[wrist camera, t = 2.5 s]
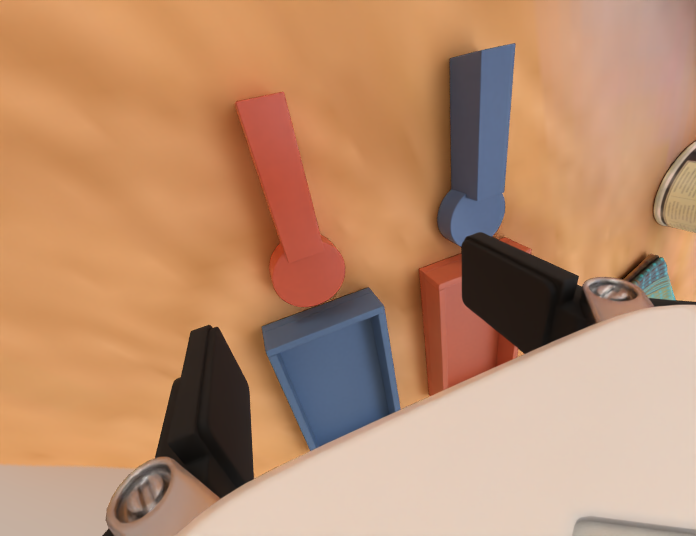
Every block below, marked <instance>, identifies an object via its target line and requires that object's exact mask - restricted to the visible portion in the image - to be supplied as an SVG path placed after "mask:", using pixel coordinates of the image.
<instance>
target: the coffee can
mask: <svg viewBox="0 0 696 536" xmlns="http://www.w3.org/2000/svg"><path fill="white" fill-rule="evenodd" d="M654 217H655V220H656V221H657V223H659V224H660V225H663V226H670V227H674V228H678V229H682V230H686V231H690V232H694V233H696V141H695V142H693V143H692V144H691V145H690V146H689V147H687V148H686V149H685V150H684V151H683V152H682V153H681V155H680V156H679V157H678V158H677V159H676V161H675V162H674V163H673V164H672V166H671V167H670V169H669V170H668V172H667V173H666V175H665V177H664V179H663V181H662V183H661V185H660V187H659V190H658V192H657V195H656V198H655V204H654Z"/></svg>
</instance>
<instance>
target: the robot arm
mask: <svg viewBox="0 0 696 536" xmlns="http://www.w3.org/2000/svg"><path fill="white" fill-rule="evenodd" d="M461 250H462V300H463V303H464V304H465V306H466V307H468V308H469V309H470V310H471V311H473V312H474V313H475V314H476V315H477V316H479V317H480V318H481V319H482V320H484V321H485V322H486V323H487V324H489V325H490V326H491V327H492V328H494V329H495V330H496V331H497V332H499V333H500V334H501V335H502V336H503V337H505V338H506V339H507V340H508V341H510V342H511V343H512V344H513V345H515V346H516V347H517V348H518V349H520V350H521V351H522V352H523V353H525V354H524V355H521V356H519V357H517V358H515V359H512V360H510V361H508V362H506V363H503V364H501V365H499V366H497V367H494V368H492V369H490V370H488V371H485V372H483V373H481V374H479V375H476V376H474V377H472V378H470V379H467V380H465V381H463V382H461V383H458V384H456V385H454V386H452V387H450V388H447V389H445V390H443V391H441V392H438V393H436V394H434V395H432V396H430V397H427V398H425V399H423V400H421V401H418V402H416V403H414V404H412V405H410V406H407V407H405V408H403V409H401V410H399V411H396V412H394V413H392V414H390V415H388V416H385V417H383V418H381V419H379V420H377V421H374V422H372V423H370V424H368V425H366V426H363V427H361V428H359V429H357V430H355V431H353V432H350V433H348V434H346V435H344V436H342V437H339V438H337V439H335V440H333V441H331V442H328V443H326V444H324V445H322V446H320V447H318V448H316V449H314V450H312V451H310V452H307V453H305V454H303V455H301V456H299V457H297V458H295V459H293V460H291V461H288V462H286V463H284V464H282V465H280V466H278V467H276V468H274V469H272V470H270V471H268V472H266V473H264V474H262V475H261V476H259V477H257V478H255V479H254V473H253V453H252V433H251V413H250V393H249V387H248V383H247V381H246V379H245V377H244V375H243V373H242V371H241V369H240V367H239V365H238V364H237V362H236V360H235V358H234V356H233V354H232V352H231V350H230V348H229V346H228V344H227V342H226V341H225V339H224V337H223V335H222V333H221V331H220V329H219V328H218V327H215V328H212V326H211V325H207V326H204V327H201V328H198V329H196V330H193V331H191V333H190V337H189V342H188V347H187V351H186V356H185V361H184V365H183V370H182V375H181V377H180V378H178V379H176V380H175V381H174V383H173V385H172V389H171V394H170V398H169V402H168V406H167V410H166V414H165V419H164V423H163V427H162V431H161V435H160V439H159V444H158V448H157V452H156V456H155V459H152V460H149V461H147V462H146V463H144V464H142V465H141V466H139V467H138V468H136V469H135V470H134V471H133V472H132V473H131V474H129V475H128V476H127V477H126V479H125V480H124V481H123V482H122V483H121V484H120V485H119V487H118V488H117V490H116V492H115V493H114V495H113V496H112V498H111V500H110V503H109V505H108V508H107V513H106V522H107V525H108V527H109V529H108V530H107V531H106V532H105V533H104V535H103V536H696V302H689V301H677V300H666V299H655V298H648V297H647V295H646V294H645V292H644V291H643V290H642V289H641V288H640V287H638V286H637V285H635V284H633V283H631V282H628V281H625V280H622V279H617V278H611V277H596V278H591V279H589V280H587V281H585V282H584V284H583V286H582V287H581V286H579V285H577V282H578V277H579V276H577V275H575V274H573V273H571V272H568V271H566V270H564V269H562V268H560V267H557V266H555V265H553V264H551V263H549V262H546V261H544V260H542V259H540V258H538V257H535V256H533V255H531V254H529V253H527V252H524V251H522V250H520V249H518V248H516V247H513V246H511V245H509V244H507V243H505V242H502V241H500V240H498V239H496V238H494V237H491V236H489V235H487V234H485V233H482V232H478V233H475V234H472V235H470V236H467V237H466V238H465V239H464V241H463V242H462V246H461Z"/></svg>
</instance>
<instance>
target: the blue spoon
mask: <svg viewBox="0 0 696 536" xmlns="http://www.w3.org/2000/svg"><path fill="white" fill-rule="evenodd" d="M514 56H515V43H513V44H509V45H504V46H499V47H494V48H490V49H485V50H480V51H476V52H473V53H469V54H465V55H461V56H457V57H453V58H450V125H451V190H450V191H449V192H448V193H447V195H446V196H445V197H444V199H443V201H442V203H441V205H440V207H439V211H438V217H437V222H438V228H439V230H440V232H441V234H442V235H443V236H444V237H445V238H446V239H448V240H450V241H452V242H453V243H455V244H457V245H459V246H460V247H461V246H462V242H463V241H464V239H465V238H466V237H467V236H470V235H472V234H475V233H478V232H482V233H485V234H487V235H489V236H491V237H492V236H493V235H494V234H495V232H496V231H497V230H498V228H499V226H500V224H501V222H502V220H503V217H504V213H505V200H504V197H503V194H502V193H504V188H505V175H506V162H507V149H508V136H509V122H510V109H511V96H512V83H513V69H514Z"/></svg>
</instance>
